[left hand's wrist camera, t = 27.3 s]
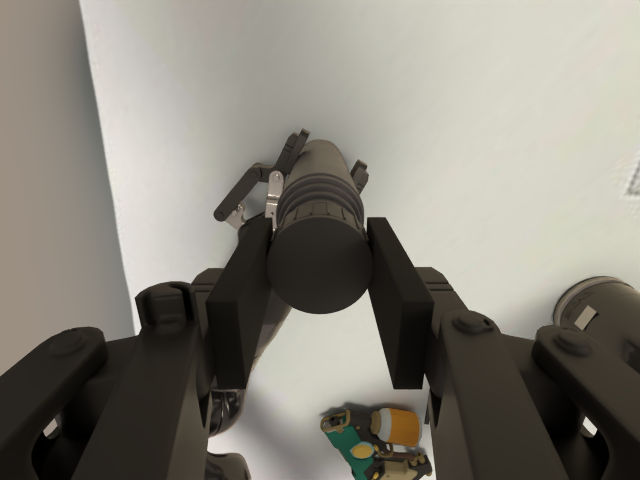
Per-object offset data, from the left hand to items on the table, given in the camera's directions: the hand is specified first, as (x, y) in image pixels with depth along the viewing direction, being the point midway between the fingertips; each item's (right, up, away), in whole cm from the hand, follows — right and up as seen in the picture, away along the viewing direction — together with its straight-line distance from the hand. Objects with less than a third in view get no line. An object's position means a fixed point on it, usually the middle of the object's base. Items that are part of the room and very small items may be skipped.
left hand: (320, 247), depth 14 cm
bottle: (0, +8, +21) cm, 23 cm away
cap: (0, -1, -2) cm, 2 cm away
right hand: (+1, +8, +14) cm, 16 cm away
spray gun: (+8, -29, +36) cm, 47 cm away
